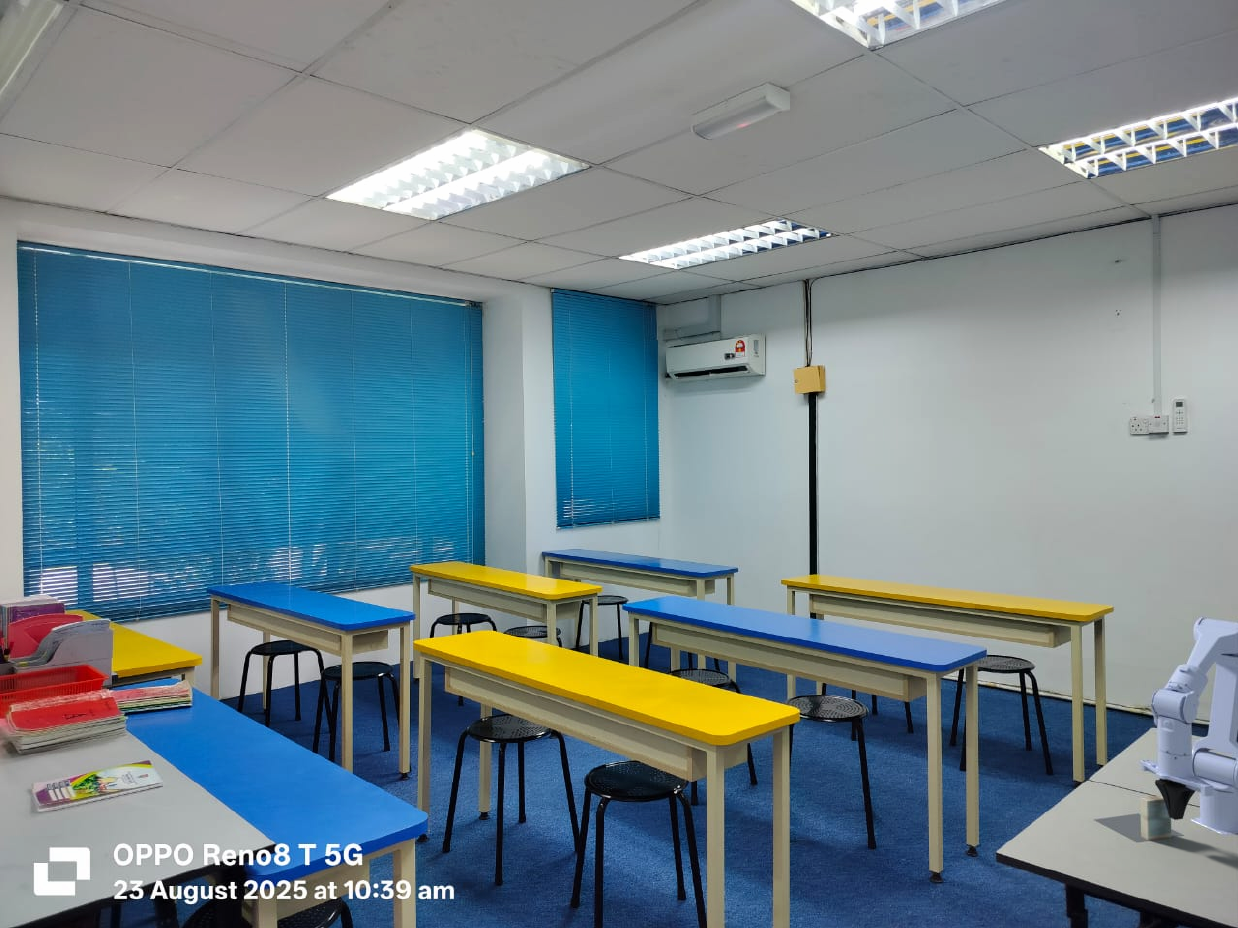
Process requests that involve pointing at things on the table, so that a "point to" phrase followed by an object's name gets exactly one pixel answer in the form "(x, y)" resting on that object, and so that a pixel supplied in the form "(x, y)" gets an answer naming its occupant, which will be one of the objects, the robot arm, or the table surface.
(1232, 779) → the robot arm
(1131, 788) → the table surface
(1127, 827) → the rubber mat
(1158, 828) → the birch framed mirror
